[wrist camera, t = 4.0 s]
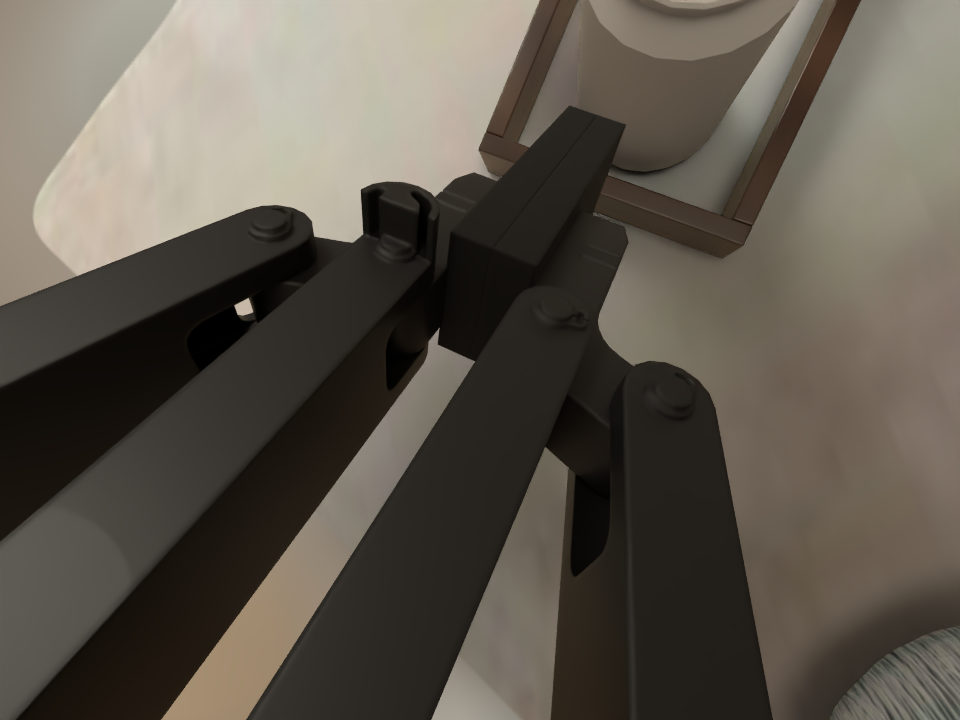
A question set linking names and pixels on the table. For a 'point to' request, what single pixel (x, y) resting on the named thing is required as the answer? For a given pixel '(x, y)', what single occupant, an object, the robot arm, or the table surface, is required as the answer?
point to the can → (669, 69)
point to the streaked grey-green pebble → (909, 683)
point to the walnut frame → (645, 204)
